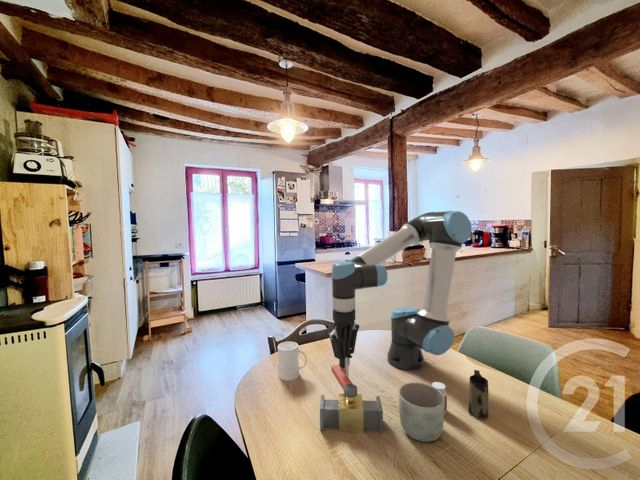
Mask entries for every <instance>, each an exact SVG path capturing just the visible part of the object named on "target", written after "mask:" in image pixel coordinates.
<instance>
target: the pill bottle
mask: <svg viewBox="0 0 640 480" xmlns="http://www.w3.org/2000/svg"><path fill="white" fill-rule="evenodd" d="M431 386H433V387H435V388H436V389H438V390H439V391H440V392H441V393H442V394H443V396H444V398H445V406H444V416H445V415H446V414H447V412H448V410H447V409H448V405H447V404H448V401H447V400H448V399H447V398H448V393H447V389H446V384H444V383H443V382H439V381H434V382H432V384H431Z"/></svg>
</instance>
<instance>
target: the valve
mask: <svg viewBox="0 0 640 480" xmlns="http://www.w3.org/2000/svg"><path fill="white" fill-rule="evenodd" d="M362 395H363V394H361V393H357V396H356V397H353V398H349V397H346V396H345V395H344V393H338V399H327V398H326V399H325V397H326V396H325V394H321V395H320V402H319V403H320V405H319V431H321V432H323V431H324V430H325V429H337V430H338V432H340V433H360V434H361V433H362V434H363V433H364V430H365V431H370V430H371V431H378V432H379V433H381V434H383V433H384V409H383V405H382V400H381V398H380V396H377V395H376V396H375V397H376V398H375V400H363V396H362Z"/></svg>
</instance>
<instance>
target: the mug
mask: <svg viewBox="0 0 640 480" xmlns="http://www.w3.org/2000/svg"><path fill="white" fill-rule="evenodd" d="M299 353H301V354H302V355H303V356H304V359H305V362H304V364H302V365H301V366H300V365H299V360H300V359H299ZM307 362H308V357H307V355H306V353H305V352H304V351H303V350H301V349H300V348H299V344H298V343H297V342H295V341H284V342H283V341H282V342H281V343H279V344H278V345H277V363H278V364H277V367H278V368H277V369H278V371H277V377H278V379H280V380H282V381H287V382H289V381H293V380H296V379H297V378H299V376H300V370H301V369H304V368H305V367H306V364H307Z"/></svg>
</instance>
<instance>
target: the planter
mask: <svg viewBox="0 0 640 480" xmlns="http://www.w3.org/2000/svg"><path fill="white" fill-rule="evenodd" d="M444 406H445V398H444V396H443V394H442V393H441V392H440V391H439V390H438V389H436V388H435V387H433V386H432V385H430V384H427V383H423V382H417V381H416V382H415V381H414V382H406V383H404V384H402V385H401V386H400V387H399V389H398V407H399V408H398V409H399V411H398V413H399V420H400V425H401V427H402V429H403V431H404V433H406V435H408V436H409V437H410V438H412V439H414V440H415V441H419V442H423V443H430V442H434V441H436V440H437V439H439V438H440V437H441V435H442V433H443V430H444V429H443V428H444V423H445V422H444V420H445V415H444Z"/></svg>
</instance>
